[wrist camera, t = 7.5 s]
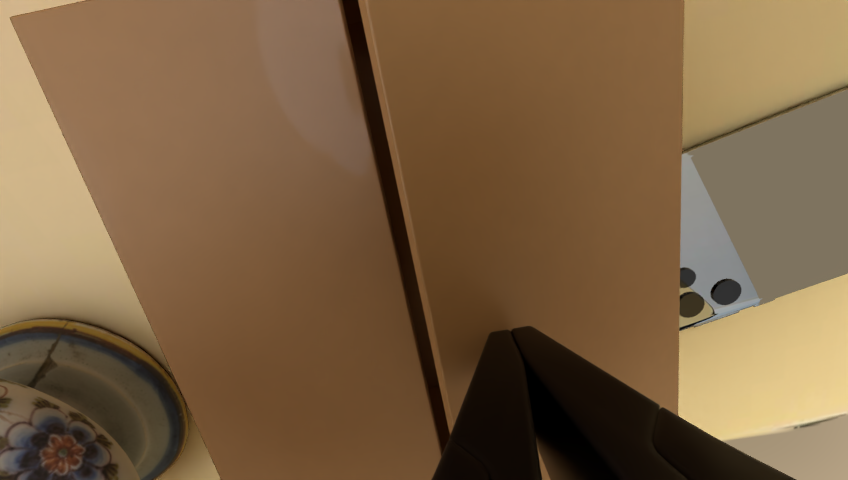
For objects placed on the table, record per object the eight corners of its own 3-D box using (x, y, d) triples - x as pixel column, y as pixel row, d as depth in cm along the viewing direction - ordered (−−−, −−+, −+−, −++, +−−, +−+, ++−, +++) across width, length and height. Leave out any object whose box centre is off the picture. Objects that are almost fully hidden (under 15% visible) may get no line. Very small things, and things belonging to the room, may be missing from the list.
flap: (667, -120, 8) (687, -131, 8) (665, 499, 14) (677, 509, 13) (335, -98, 6) (341, -110, 6) (486, 608, 12) (493, 623, 11)
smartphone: (1034, 211, 17) (639, 351, 19) (1016, 207, 18) (633, 343, 20) (1047, 11, 15) (593, 191, 17) (1026, 13, 16) (588, 188, 17)
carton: (560, -35, 15) (686, -134, 8) (588, 363, 20) (676, 510, 13) (187, 43, 15) (2, 14, 8) (311, 408, 21) (259, 570, 14)
